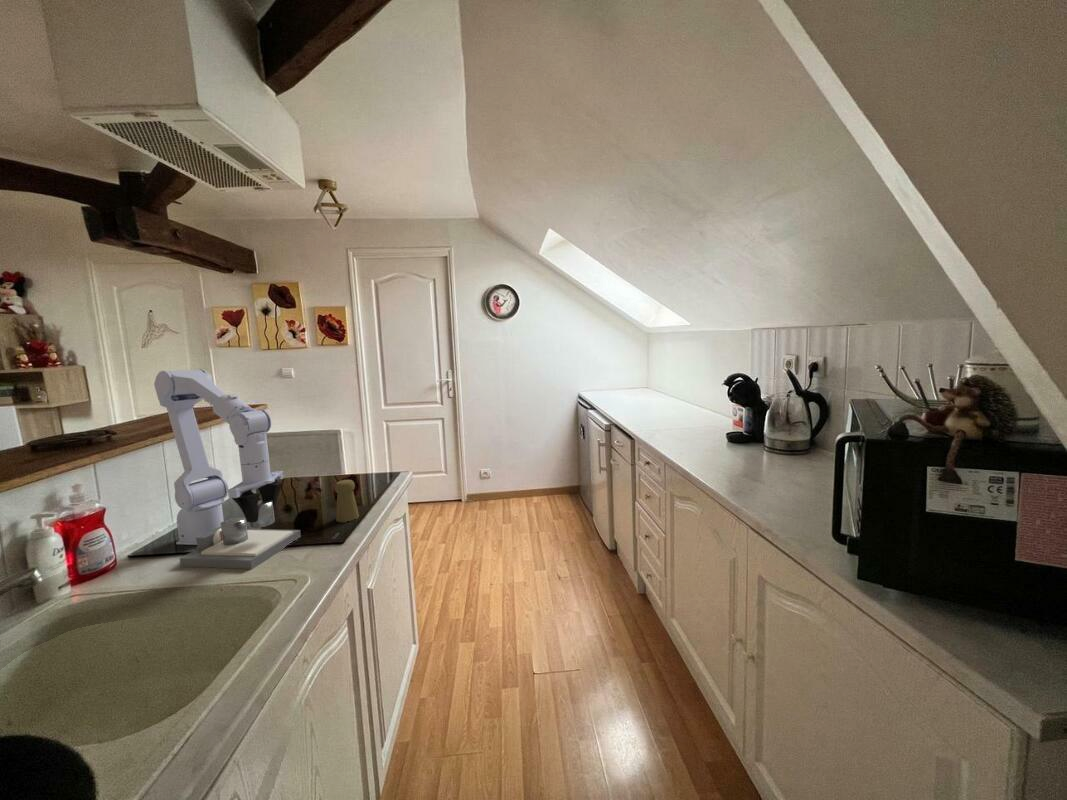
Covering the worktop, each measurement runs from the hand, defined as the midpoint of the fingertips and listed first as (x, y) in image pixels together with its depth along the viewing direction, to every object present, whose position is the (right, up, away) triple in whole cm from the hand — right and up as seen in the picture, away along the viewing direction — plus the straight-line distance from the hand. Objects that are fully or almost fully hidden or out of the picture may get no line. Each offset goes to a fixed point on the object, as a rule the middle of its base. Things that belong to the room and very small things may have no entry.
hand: (261, 517), depth 102 cm
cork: (+12, -6, +20) cm, 24 cm away
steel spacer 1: (-7, -6, +1) cm, 9 cm away
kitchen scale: (-5, -9, +1) cm, 10 cm away
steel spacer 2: (0, -2, 0) cm, 2 cm away
